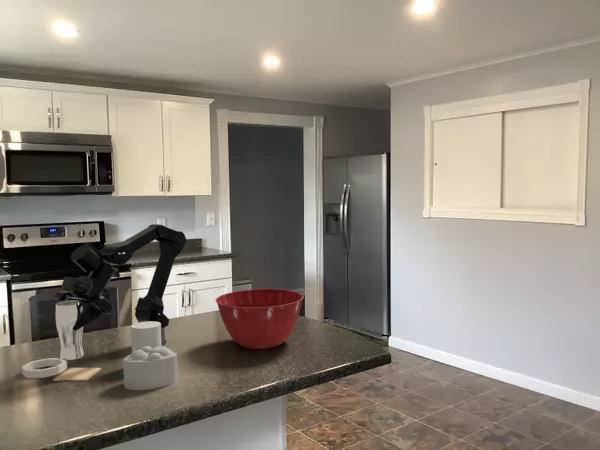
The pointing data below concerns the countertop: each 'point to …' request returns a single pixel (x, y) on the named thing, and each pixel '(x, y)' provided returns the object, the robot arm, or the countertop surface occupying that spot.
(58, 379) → the coaster
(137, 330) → the cup
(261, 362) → the countertop surface
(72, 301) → the beer glass
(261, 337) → the mixing bowl
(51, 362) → the holder ring
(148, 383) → the lumpy-topped squat cylinder
